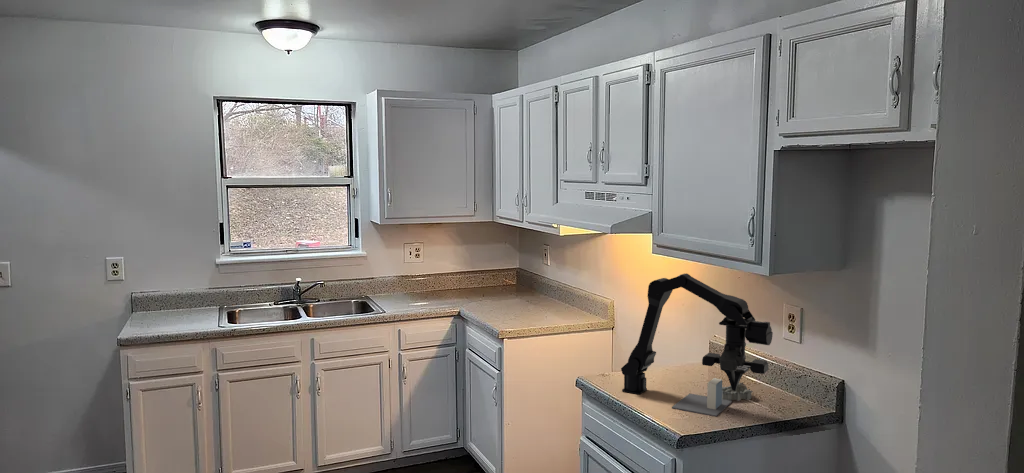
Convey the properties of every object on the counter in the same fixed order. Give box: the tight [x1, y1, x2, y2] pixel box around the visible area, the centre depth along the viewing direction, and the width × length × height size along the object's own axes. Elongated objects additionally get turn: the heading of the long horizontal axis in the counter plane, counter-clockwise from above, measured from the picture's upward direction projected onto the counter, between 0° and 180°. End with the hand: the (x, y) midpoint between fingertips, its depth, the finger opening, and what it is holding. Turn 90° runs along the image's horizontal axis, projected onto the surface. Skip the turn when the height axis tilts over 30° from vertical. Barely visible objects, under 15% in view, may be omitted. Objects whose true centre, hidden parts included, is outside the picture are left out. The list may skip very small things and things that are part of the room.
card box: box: [706, 377, 723, 410], centre depth 221 cm, size 3×6×8 cm, turn 146°
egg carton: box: [722, 382, 753, 401], centre depth 231 cm, size 11×8×4 cm
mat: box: [671, 393, 733, 417], centre depth 224 cm, size 14×16×1 cm
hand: (734, 390), depth 218 cm, fingers closed
